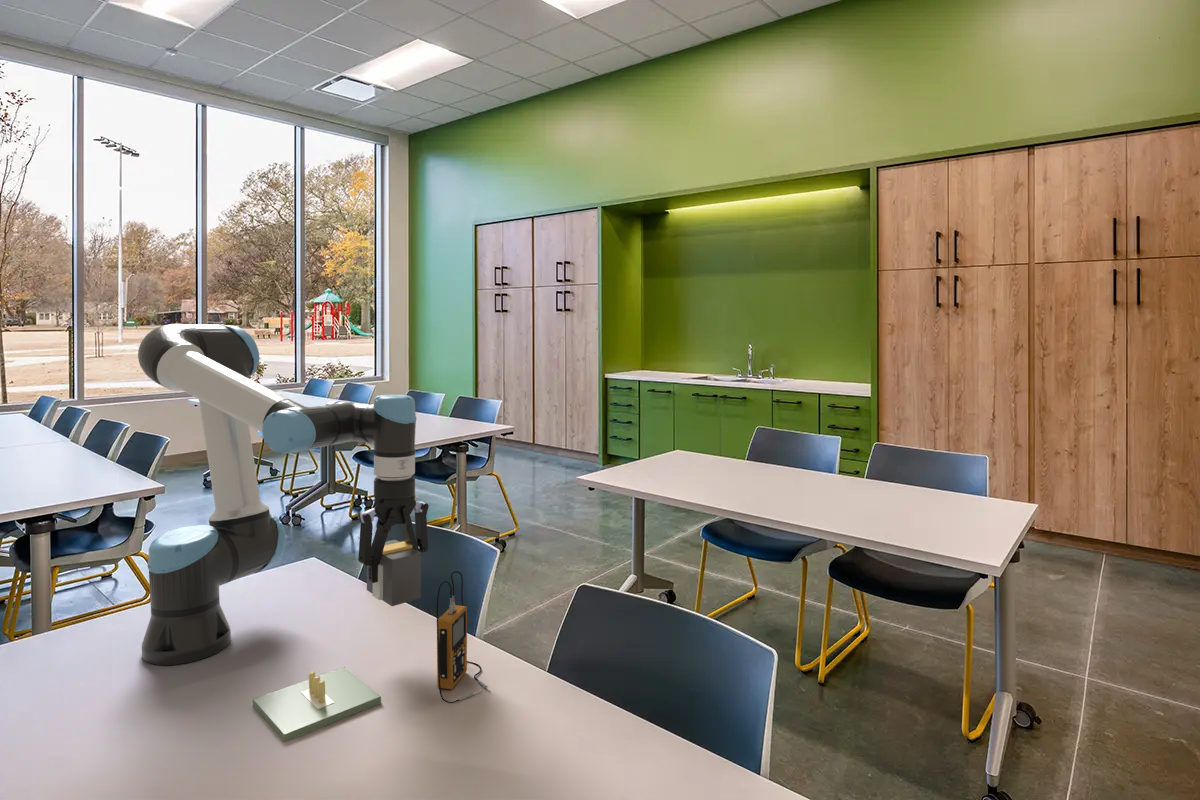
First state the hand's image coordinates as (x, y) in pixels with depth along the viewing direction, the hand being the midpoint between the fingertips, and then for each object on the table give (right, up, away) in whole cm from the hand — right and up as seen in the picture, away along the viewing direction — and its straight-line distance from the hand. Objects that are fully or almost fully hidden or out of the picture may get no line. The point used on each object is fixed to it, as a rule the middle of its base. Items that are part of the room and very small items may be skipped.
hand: (394, 592), depth 131 cm
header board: (-8, -15, -16) cm, 23 cm away
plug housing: (0, 0, 0) cm, 0 cm away
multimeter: (+16, -14, -8) cm, 23 cm away
